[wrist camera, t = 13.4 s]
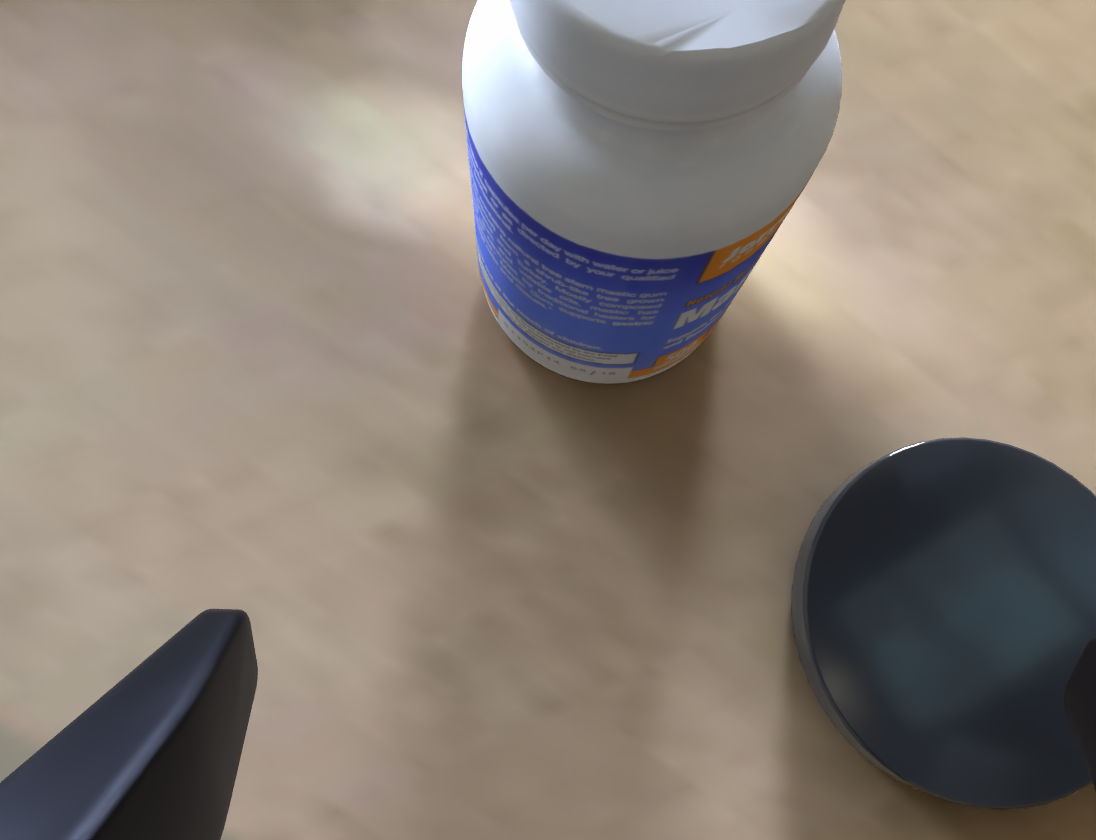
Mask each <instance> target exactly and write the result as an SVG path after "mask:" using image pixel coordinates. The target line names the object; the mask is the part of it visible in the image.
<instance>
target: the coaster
mask: <svg viewBox="0 0 1096 840" xmlns="http://www.w3.org/2000/svg"><path fill="white" fill-rule="evenodd" d="M792 619H793V628H794V636H795V640H796V645H797V649H798V653H799V657H800V661H801V663H802V666H803V669H804V671H805V674H806V677H807V680H808V682H809V684H810V686H811V688H812V690H813V692H814V694H815V696H816V698H817V700H818V702H819V704H820V705H821V707H822V708H823V710H824V711H825V713H826V714H827V716H828V717H829V719H830V720H831V722H832V723H833V725H834V726H835V727H836V728H837V729H838V731H839V732H840V733H841V734H842V735H843V736H844V738H845V739H846V740H847V741H848V742H849V743H850V744H851V745H852V746H853V747H854V748H855V749H856V750H857V751H858V752H859V753H860V754H862V755H863V756H864V757H865V758H866V759H867V760H868V761H869V762H871V763H872V764H874V765H875V766H876V767H878V768H879V769H881V770H882V771H884V772H885V773H886V774H888V775H889V776H891V777H893V778H895V779H897V780H898V781H900V782H902V783H904V784H906V785H908V786H910V787H912V788H914V789H917V790H919V791H922V792H925V793H927V794H930V795H933V796H935V797H938V798H941V799H943V800H946V801H949V802H951V803H956V804H960V805H965V806H969V807H973V808H981V809H993V810H1011V809H1026V808H1030V807H1035V806H1040V805H1044V804H1049V803H1051V802H1054V801H1057V800H1059V799H1062V798H1065V797H1067V796H1070V795H1072V794H1074V793H1075V792H1077V791H1079V790H1081V789H1082V788H1084V787H1086V786H1088V785H1089V784H1091V783H1092V780H1091V777H1090V775H1089V772H1088V769H1087V766H1086V764H1085V761H1084V758H1083V756H1082V753H1081V750H1080V748H1079V745H1078V742H1077V740H1076V737H1075V734H1074V732H1073V729H1072V726H1071V724H1070V721H1069V718H1068V716H1067V713H1066V709H1065V704H1064V692H1065V687H1066V685H1067V682H1068V681H1069V679H1070V677H1071V675H1072V673H1073V671H1074V669H1075V667H1076V665H1077V663H1078V661H1079V659H1080V657H1081V655H1082V653H1083V651H1084V649H1085V647H1086V645H1087V644H1088V642H1089V641H1090V640H1092V639H1093V638H1095V637H1096V496H1095V495H1094V494H1093V493H1092V492H1091V491H1090V490H1089V489H1088V488H1087V487H1085V486H1084V485H1083V484H1082V483H1081V482H1079V481H1078V480H1077V479H1076V478H1074V477H1073V476H1072V475H1070V474H1069V473H1067V472H1066V471H1064V470H1063V469H1061V468H1060V467H1058V466H1056V465H1055V464H1053V463H1052V462H1049V461H1047V460H1045V459H1043V458H1041V457H1039V456H1037V455H1035V454H1033V453H1031V452H1028V451H1025V450H1023V449H1020V448H1017V447H1014V446H1011V445H1008V444H1004V443H999V442H995V441H990V440H985V439H974V438H942V439H936V440H930V441H924V442H920V443H916V444H913V445H910V446H907V447H904V448H901V449H898V450H896V451H894V452H892V453H890V454H888V455H886V456H884V457H881V458H879V459H877V460H875V461H873V462H871V463H869V464H867V465H866V466H864V467H863V468H861V469H860V470H858V471H857V472H855V473H854V474H852V475H851V476H850V477H849V478H847V479H846V480H845V481H844V482H843V483H842V484H841V485H840V486H839V487H838V488H836V489H835V490H834V492H833V493H832V494H831V495H830V496H829V498H828V499H827V500H826V501H825V502H824V504H823V505H822V506H821V508H820V509H819V511H818V513H817V514H816V516H815V517H814V519H813V521H812V522H811V524H810V526H809V528H808V531H807V533H806V535H805V538H804V540H803V542H802V544H801V548H800V551H799V555H798V558H797V562H796V565H795V572H794V579H793V586H792Z"/></svg>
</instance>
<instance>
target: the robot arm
mask: <svg viewBox="0 0 1096 840" xmlns="http://www.w3.org/2000/svg"><path fill="white" fill-rule="evenodd" d="M257 676H258V667H257V660H256V654H255V648H254V642H253V636H252V630H251V624H250V620H249V617H248V615H247V613H246V612H244V611H242V610H234V609H208V610H205V611H203V612H202V613H200V614H199V615H198V616H197V617H195V618H194V619H193V620H192V621H191V622H189V623H188V624H187V625H186V626H185V627H184V628H182V629H181V630H180V631H179V632H178V633H176V634H175V635H174V636H173V637H172V638H171V639H169V640H168V641H167V642H166V643H165V644H163V645H162V646H161V647H160V648H159V649H158V650H156V651H155V652H154V653H153V654H152V655H150V656H149V657H148V658H147V659H146V660H145V661H143V662H142V663H141V664H140V665H139V666H137V667H136V668H135V669H134V670H133V671H132V672H130V673H129V674H128V675H127V676H126V677H125V678H123V679H122V680H121V681H120V682H119V683H117V684H116V685H115V686H114V687H113V688H112V689H110V690H109V691H108V692H107V693H106V694H104V695H103V696H102V697H101V698H100V699H99V700H97V701H96V702H95V703H94V704H93V705H91V706H90V707H89V708H88V709H87V710H86V711H84V712H83V713H82V714H81V715H80V716H78V717H77V718H76V719H75V720H74V721H73V722H71V723H70V724H69V725H68V726H67V727H65V728H64V729H63V730H62V731H61V732H60V733H58V734H57V735H56V736H55V737H54V738H52V739H51V740H50V741H49V742H48V743H47V744H45V745H44V746H43V747H42V748H41V749H40V750H38V751H37V752H36V753H35V754H34V755H32V756H31V757H30V758H29V759H28V760H27V761H25V762H24V763H23V764H22V765H21V766H20V767H18V768H17V769H16V770H15V771H14V772H12V773H11V774H10V775H9V776H8V777H6V778H5V779H4V780H3V781H2V782H1V783H0V840H220V839H221V836H222V832H223V829H224V826H225V822H226V817H227V813H228V809H229V805H230V801H231V797H232V792H233V788H234V783H235V779H236V775H237V770H238V766H239V761H240V757H241V753H242V748H243V744H244V739H245V735H246V731H247V726H248V722H249V717H250V713H251V709H252V704H253V700H254V695H255V691H256V686H257ZM1064 704H1065V709H1066V713H1067V716H1068V718H1069V721H1070V724H1071V726H1072V729H1073V732H1074V734H1075V737H1076V740H1077V742H1078V745H1079V748H1080V750H1081V753H1082V756H1083V758H1084V761H1085V764H1086V766H1087V769H1088V772H1089V775H1090V777H1091V780H1092V783H1093V785H1094V788H1095V791H1096V637H1095V638H1093V639H1092V640H1090V641H1089V642H1088V644H1087V645H1086V647H1085V649H1084V651H1083V653H1082V655H1081V657H1080V659H1079V661H1078V663H1077V665H1076V667H1075V669H1074V671H1073V673H1072V675H1071V677H1070V679H1069V681H1068V682H1067V685H1066V687H1065V692H1064Z"/></svg>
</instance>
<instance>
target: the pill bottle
mask: <svg viewBox="0 0 1096 840" xmlns="http://www.w3.org/2000/svg"><path fill="white" fill-rule="evenodd" d="M844 2H845V0H478V1H477V4H476V6H475V8H474V10H473V13H472V16H471V19H470V22H469V26H468V30H467V34H466V39H465V44H464V52H463V60H462V86H463V98H464V111H465V123H466V133H467V143H468V155H469V165H470V175H471V186H472V197H473V207H474V217H475V228H476V242H477V255H478V267H479V274H480V279H481V282H482V286H483V289H484V293H485V296H486V299H487V302H488V304H489V306H490V309H491V311H492V313H493V315H494V317H495V319H496V320H497V322H498V323H499V325H500V326H501V328H502V329H503V331H504V332H505V333H506V334H507V336H508V337H509V338H510V339H511V340H512V341H513V342H514V344H516V345H517V346H518V347H519V348H520V349H521V350H522V351H523V352H524V353H526V354H527V355H528V356H529V357H530V358H532V359H533V360H535V361H536V362H538V363H539V364H541V365H542V366H544V367H546V368H548V369H550V370H552V371H554V372H556V373H558V374H561V375H564V376H566V377H569V378H572V379H577V380H581V381H585V382H593V383H603V384H614V383H626V382H632V381H637V380H641V379H645V378H648V377H651V376H654V375H656V374H658V373H661V372H663V371H665V370H667V369H669V368H671V367H672V366H674V365H676V364H677V363H679V362H680V361H682V360H683V359H684V358H686V357H687V356H688V355H690V354H691V353H692V352H693V351H694V350H695V349H696V348H697V347H698V346H699V345H700V344H701V343H702V342H703V341H704V340H705V339H706V337H707V336H708V335H709V334H710V333H711V331H712V330H713V329H714V328H715V326H716V325H717V323H718V322H719V320H720V319H721V317H722V316H723V314H724V312H725V311H726V309H727V308H728V306H729V305H730V303H731V302H732V300H733V298H734V297H735V295H736V294H737V292H738V291H739V289H740V288H741V286H742V285H743V283H744V282H745V280H746V278H747V277H748V275H749V274H750V272H751V271H752V269H753V267H754V266H755V264H756V263H757V261H758V260H759V258H760V257H761V255H762V253H763V252H764V250H765V248H766V247H767V245H768V244H769V242H770V241H771V239H772V238H773V236H774V235H775V233H776V231H777V230H778V228H779V227H780V225H781V224H782V222H783V220H784V219H785V217H786V216H787V214H788V213H789V211H790V210H791V208H792V206H793V205H794V203H795V202H796V200H797V198H798V197H799V195H800V194H801V192H802V191H803V189H804V188H805V186H806V184H807V183H808V181H809V179H810V178H811V176H812V174H813V173H814V171H815V169H816V167H817V165H818V164H819V162H820V160H821V158H822V156H823V155H824V153H825V151H826V149H827V146H828V144H829V142H830V139H831V137H832V135H833V131H834V128H835V125H836V121H837V117H838V113H839V108H840V99H841V92H842V69H841V68H842V63H841V56H840V50H839V45H838V41H837V37H836V32H835V29H834V28H835V26H836V23H837V20H838V17H839V15H840V12H841V10H842V7H843V4H844Z"/></svg>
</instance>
